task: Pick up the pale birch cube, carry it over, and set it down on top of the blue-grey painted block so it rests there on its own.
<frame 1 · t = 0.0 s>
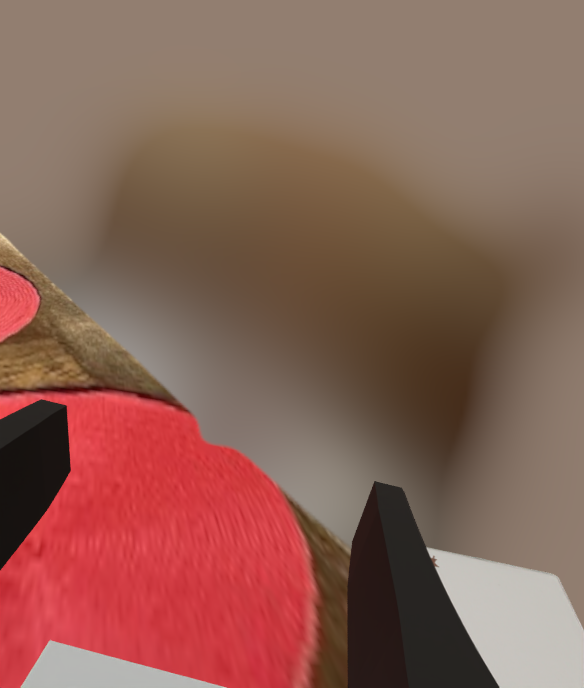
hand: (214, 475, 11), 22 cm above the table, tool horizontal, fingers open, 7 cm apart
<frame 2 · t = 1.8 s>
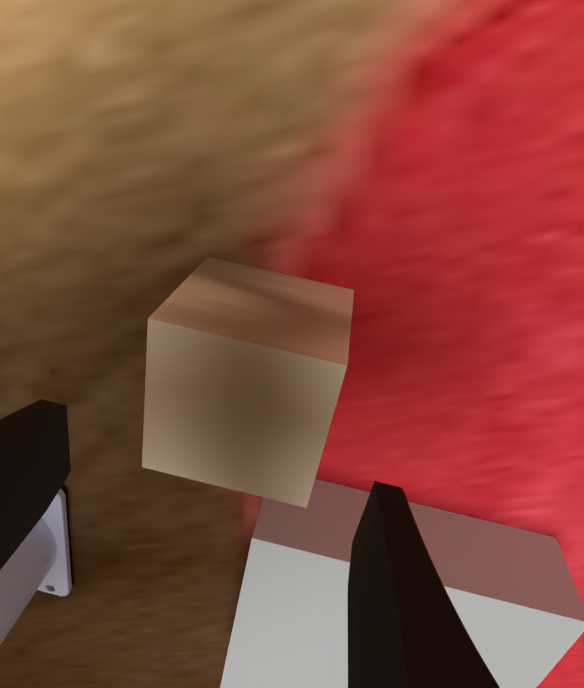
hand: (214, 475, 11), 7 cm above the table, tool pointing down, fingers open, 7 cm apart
grey block: (373, 582, 23), on the table
birch cube: (269, 336, 17), on the table
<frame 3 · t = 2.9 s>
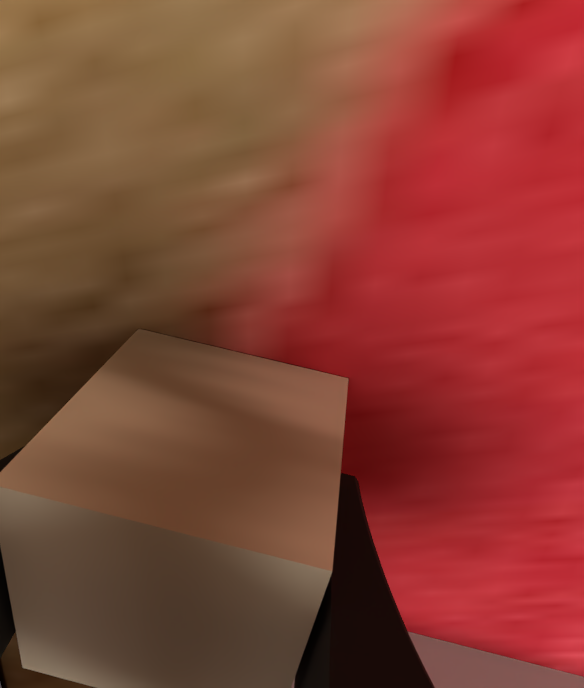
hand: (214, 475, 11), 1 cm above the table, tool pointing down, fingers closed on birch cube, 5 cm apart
birch cube: (229, 435, 12), on the table, touching gripper
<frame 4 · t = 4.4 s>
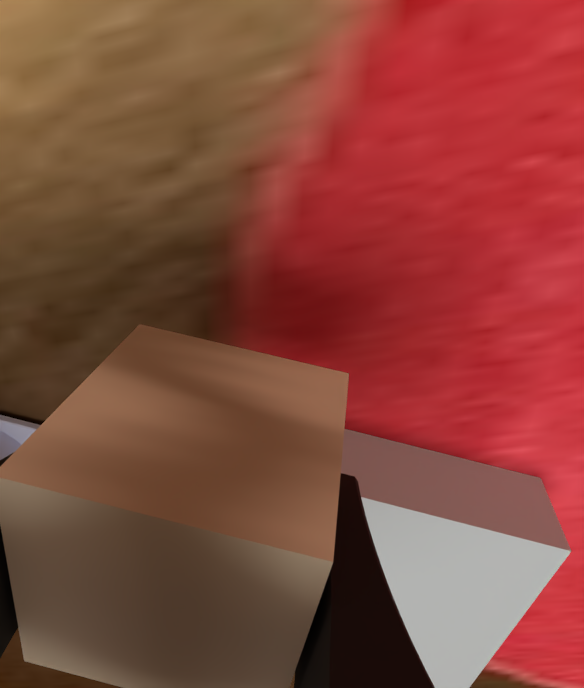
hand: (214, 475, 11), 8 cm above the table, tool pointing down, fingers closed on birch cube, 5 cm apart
grey block: (362, 528, 24), on the table
birch cube: (230, 431, 12), point 7 cm above the table, touching gripper
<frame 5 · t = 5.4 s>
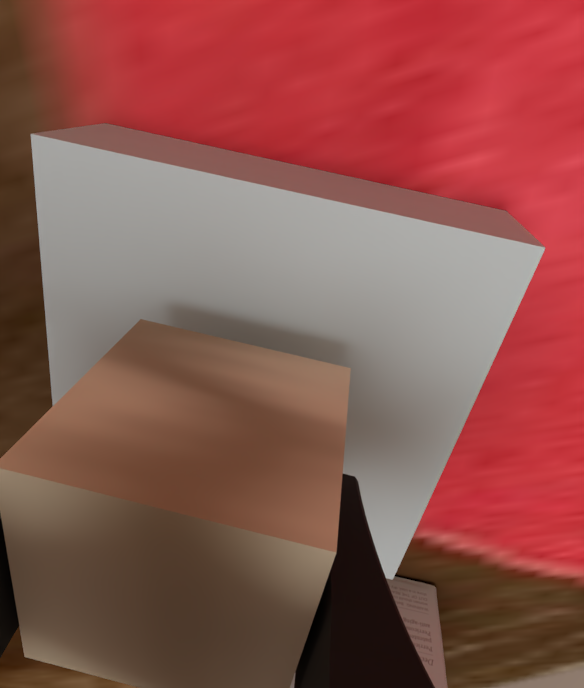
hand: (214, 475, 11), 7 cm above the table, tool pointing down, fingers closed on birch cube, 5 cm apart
supplement box: (342, 608, 24), on the table
grey block: (272, 336, 17), on the table
birch cube: (231, 427, 12), point 5 cm above the table, touching gripper
when the fingers open (6 cm above the table, at t = 5.9 s): birch cube drops 1 cm, point 4 cm above the table.
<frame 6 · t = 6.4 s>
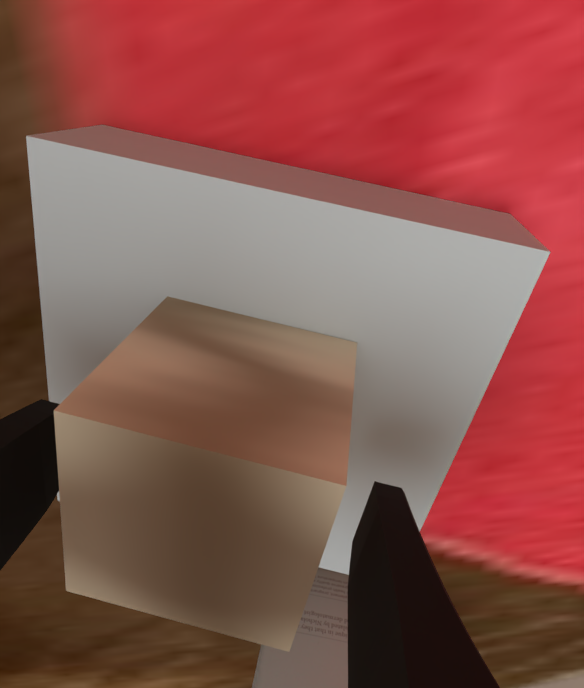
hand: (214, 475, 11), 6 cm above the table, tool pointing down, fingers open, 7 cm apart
supplement box: (343, 614, 23), on the table
grey block: (272, 340, 17), on the table
birch cube: (247, 397, 13), point 4 cm above the table
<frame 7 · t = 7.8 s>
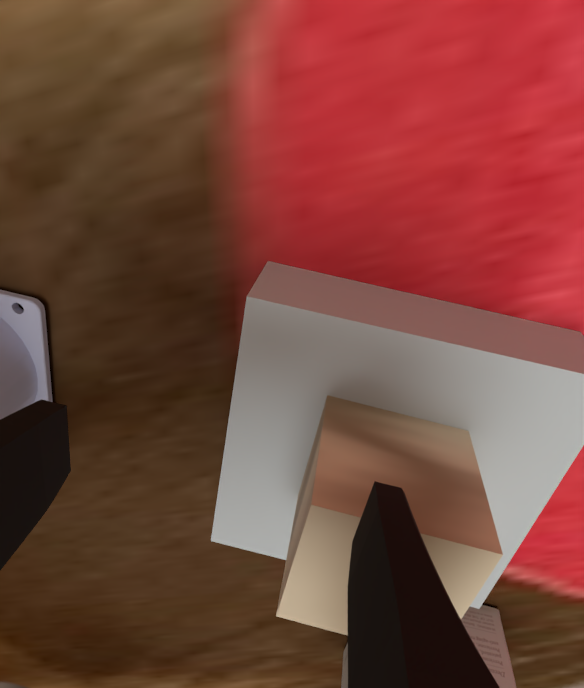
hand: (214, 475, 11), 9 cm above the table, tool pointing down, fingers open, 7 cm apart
supplement box: (414, 626, 28), on the table
grey block: (379, 412, 22), on the table
birch cube: (377, 465, 18), point 3 cm above the table
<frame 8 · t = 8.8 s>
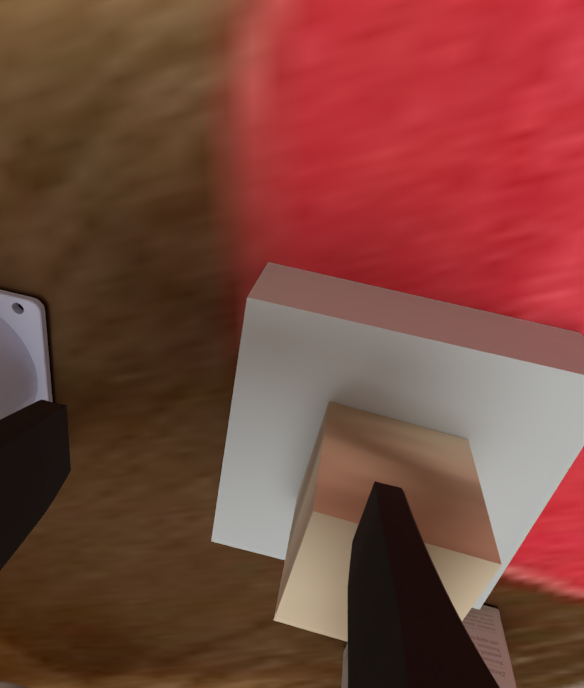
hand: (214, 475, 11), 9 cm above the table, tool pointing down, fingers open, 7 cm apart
supplement box: (414, 626, 28), on the table
grey block: (379, 413, 22), on the table
birch cube: (376, 471, 18), point 4 cm above the table
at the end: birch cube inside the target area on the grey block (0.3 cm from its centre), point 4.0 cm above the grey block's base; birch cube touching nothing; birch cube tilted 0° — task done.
